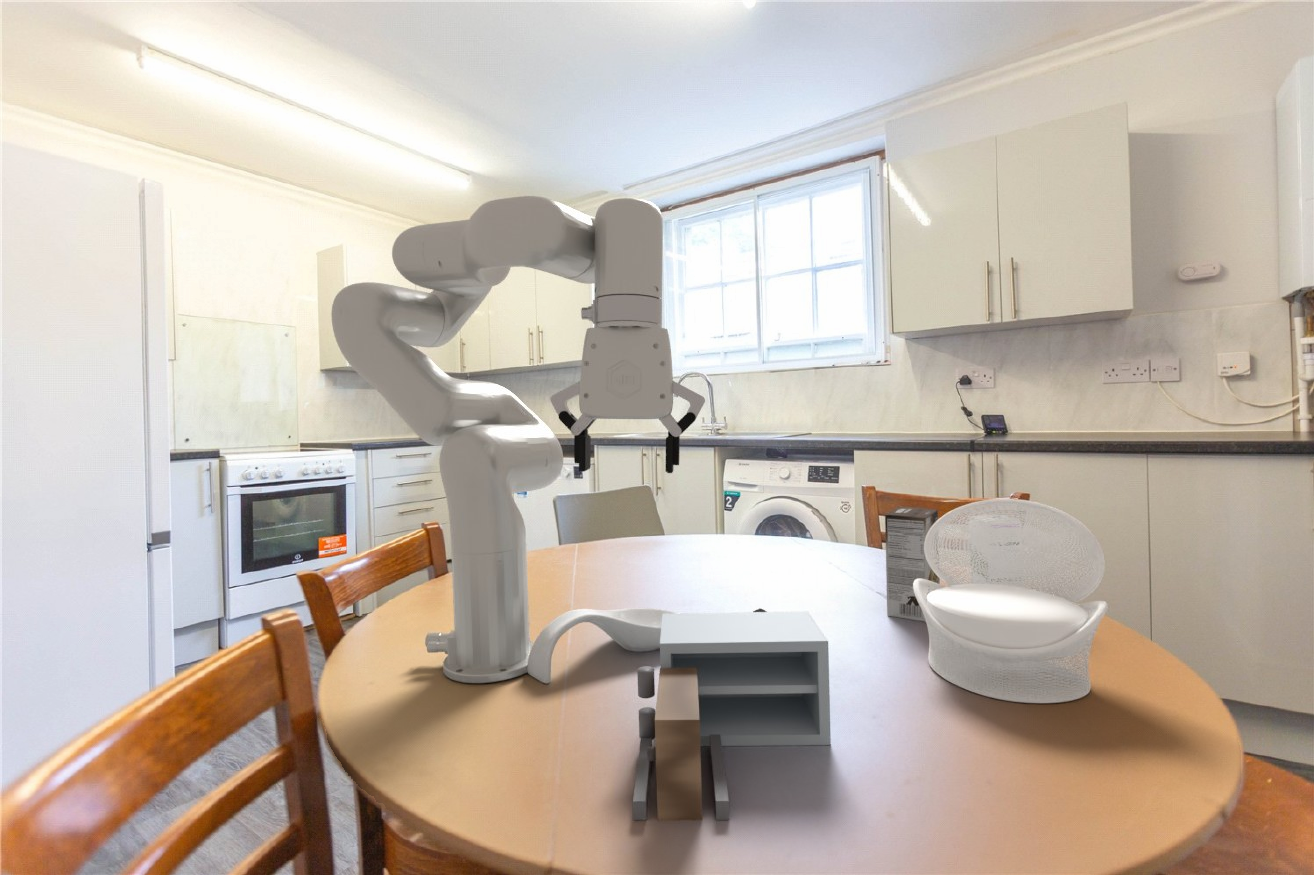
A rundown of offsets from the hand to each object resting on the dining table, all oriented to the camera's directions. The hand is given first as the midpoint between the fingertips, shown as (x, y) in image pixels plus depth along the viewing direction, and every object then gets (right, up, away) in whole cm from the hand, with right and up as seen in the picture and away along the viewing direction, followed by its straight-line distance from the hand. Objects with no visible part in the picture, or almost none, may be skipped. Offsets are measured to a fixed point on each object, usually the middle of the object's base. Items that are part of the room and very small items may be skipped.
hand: (626, 471), depth 67 cm
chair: (+45, -25, +5) cm, 52 cm away
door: (+5, -26, -15) cm, 31 cm away
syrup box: (+59, -24, +30) cm, 70 cm away
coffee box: (+45, -24, +28) cm, 58 cm away
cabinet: (+11, -26, -11) cm, 30 cm away
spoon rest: (-3, -26, +14) cm, 30 cm away
